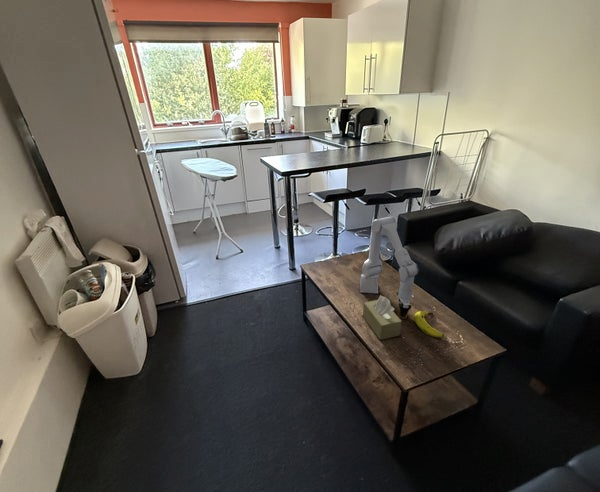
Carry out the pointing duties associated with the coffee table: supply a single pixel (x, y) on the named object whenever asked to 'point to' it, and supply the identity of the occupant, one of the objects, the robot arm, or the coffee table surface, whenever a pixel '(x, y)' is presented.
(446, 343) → the coffee table surface
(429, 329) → the banana
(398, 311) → the pepper mill
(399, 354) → the coffee table surface
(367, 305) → the tissue dispenser
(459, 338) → the coffee table surface
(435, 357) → the coffee table surface
